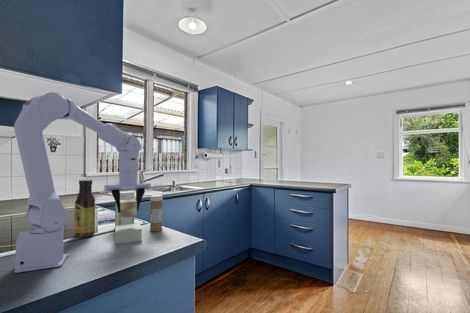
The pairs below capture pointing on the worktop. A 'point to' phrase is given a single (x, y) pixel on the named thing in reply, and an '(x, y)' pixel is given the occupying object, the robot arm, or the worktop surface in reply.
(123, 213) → the birch cube
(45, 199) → the robot arm
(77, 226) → the sauce bottle
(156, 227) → the sprinkles bottle
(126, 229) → the sage block
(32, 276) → the worktop surface
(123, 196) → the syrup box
